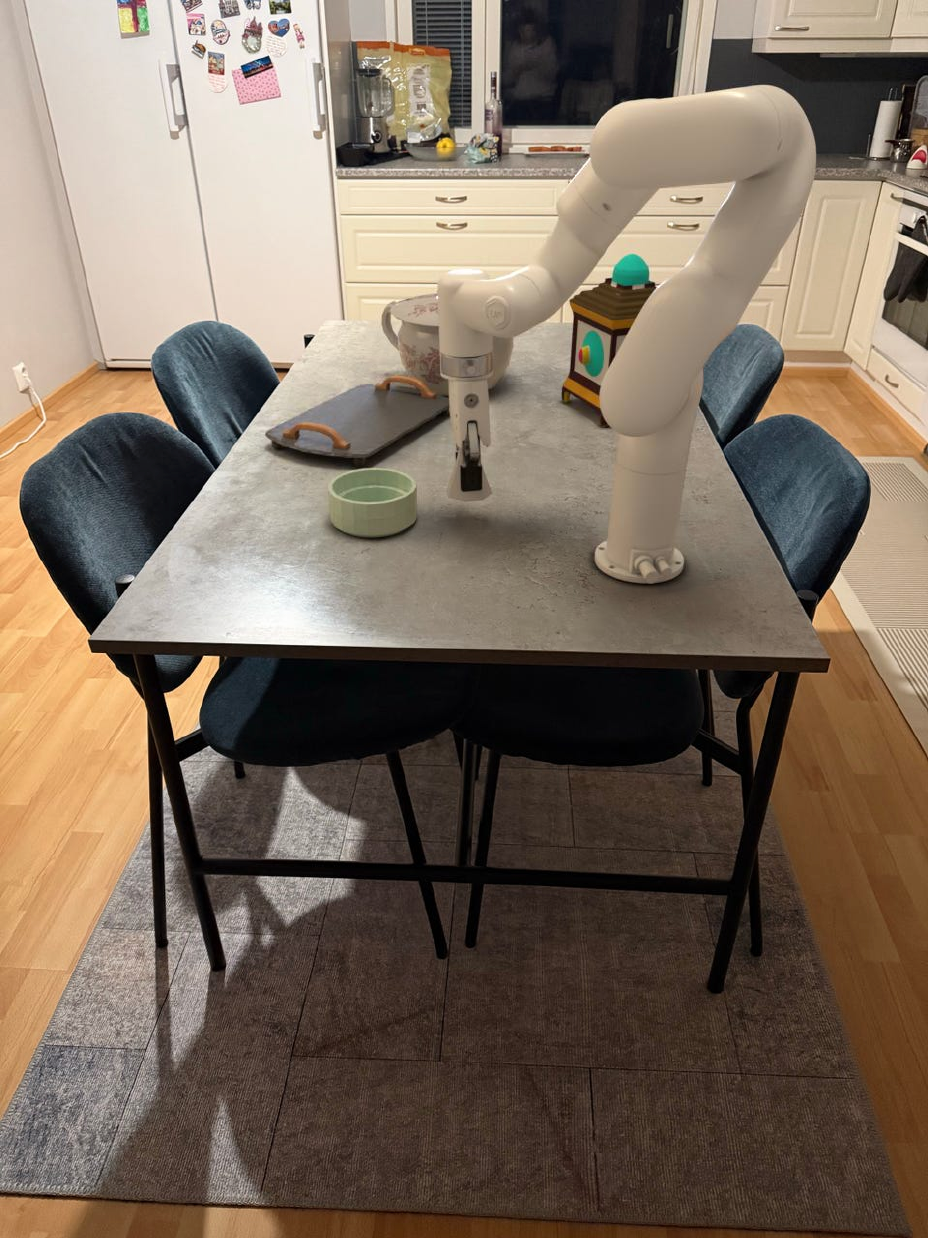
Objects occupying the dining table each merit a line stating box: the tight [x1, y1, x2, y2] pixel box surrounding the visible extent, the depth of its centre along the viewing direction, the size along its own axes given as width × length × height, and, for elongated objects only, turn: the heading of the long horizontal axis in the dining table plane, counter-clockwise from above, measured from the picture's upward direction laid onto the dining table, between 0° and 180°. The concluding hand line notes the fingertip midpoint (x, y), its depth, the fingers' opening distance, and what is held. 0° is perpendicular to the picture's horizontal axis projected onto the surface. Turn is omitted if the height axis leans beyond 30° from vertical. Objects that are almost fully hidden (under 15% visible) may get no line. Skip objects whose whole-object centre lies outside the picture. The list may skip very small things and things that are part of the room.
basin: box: [327, 467, 418, 538], centre depth 139 cm, size 13×13×6 cm
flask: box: [445, 441, 493, 502], centre depth 136 cm, size 7×7×10 cm
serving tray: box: [264, 375, 450, 469], centre depth 173 cm, size 39×23×6 cm, turn 152°
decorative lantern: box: [560, 253, 658, 428], centre depth 177 cm, size 20×20×30 cm
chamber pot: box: [380, 292, 515, 397], centre depth 191 cm, size 28×28×21 cm
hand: (469, 482), depth 138 cm, fingers closed on flask, 4 cm apart
